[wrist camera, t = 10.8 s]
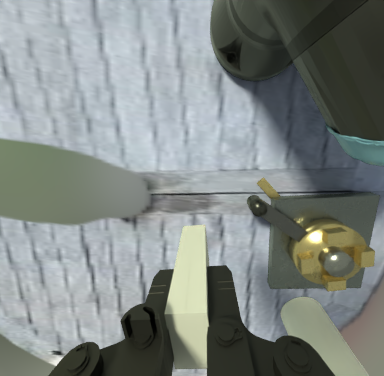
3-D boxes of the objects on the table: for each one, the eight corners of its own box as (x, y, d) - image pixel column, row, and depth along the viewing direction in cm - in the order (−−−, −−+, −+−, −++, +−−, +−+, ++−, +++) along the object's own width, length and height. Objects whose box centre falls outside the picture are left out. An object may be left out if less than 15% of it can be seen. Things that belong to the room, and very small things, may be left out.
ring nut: (228, 221, 36) (232, 236, 31) (269, 170, 33) (282, 177, 28) (321, 283, 39) (339, 306, 34) (368, 241, 36) (396, 259, 30)
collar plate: (256, 177, 36) (259, 180, 34) (374, 171, 34) (384, 173, 32) (254, 281, 42) (257, 289, 40) (353, 280, 41) (360, 287, 39)
